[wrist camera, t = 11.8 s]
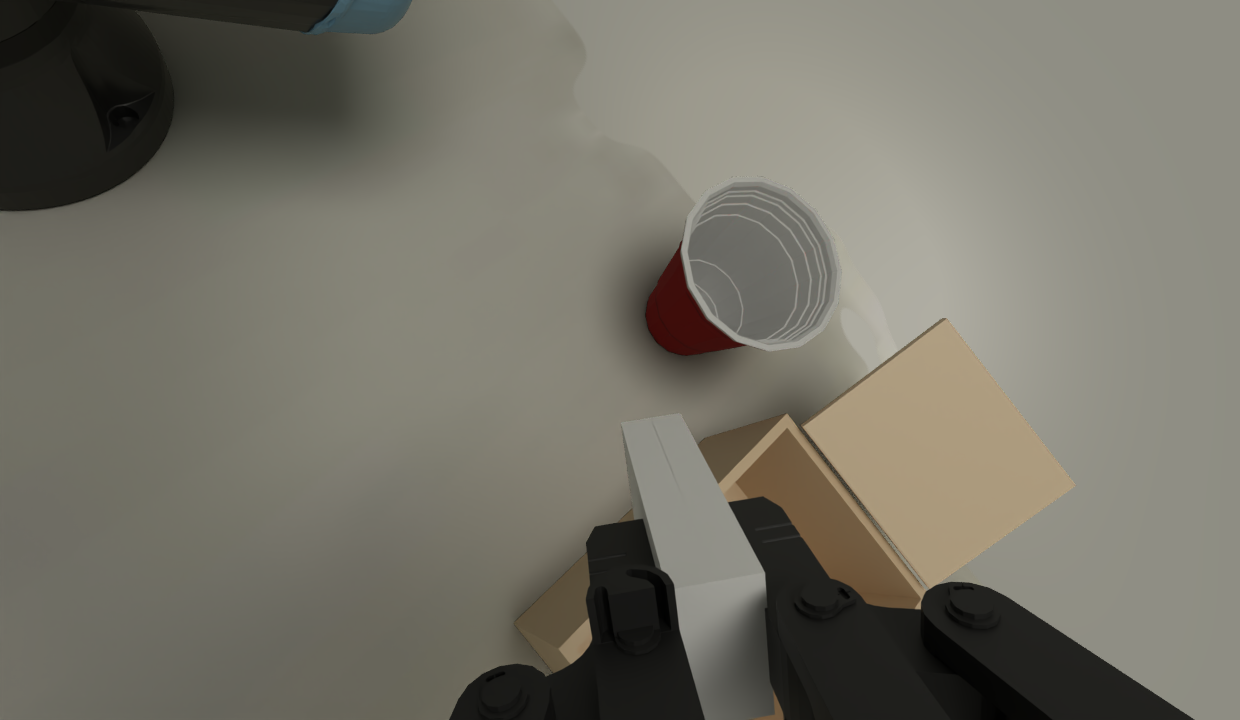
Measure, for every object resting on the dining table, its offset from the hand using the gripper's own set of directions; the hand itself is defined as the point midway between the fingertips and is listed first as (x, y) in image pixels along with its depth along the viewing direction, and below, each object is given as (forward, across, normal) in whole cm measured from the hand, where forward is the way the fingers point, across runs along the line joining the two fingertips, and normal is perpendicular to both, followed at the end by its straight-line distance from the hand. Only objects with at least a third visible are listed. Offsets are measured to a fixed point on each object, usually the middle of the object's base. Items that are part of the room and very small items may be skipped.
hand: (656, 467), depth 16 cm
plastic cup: (+32, +6, -5) cm, 33 cm away
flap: (+17, +13, -14) cm, 25 cm away
